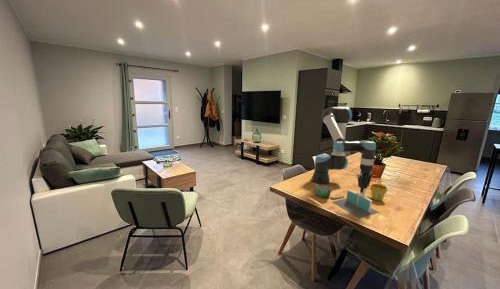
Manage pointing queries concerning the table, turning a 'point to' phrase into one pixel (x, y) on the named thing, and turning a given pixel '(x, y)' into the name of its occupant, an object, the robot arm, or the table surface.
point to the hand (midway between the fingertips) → (362, 196)
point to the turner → (337, 197)
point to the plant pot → (378, 191)
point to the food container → (323, 191)
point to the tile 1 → (352, 197)
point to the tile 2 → (364, 203)
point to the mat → (354, 208)
